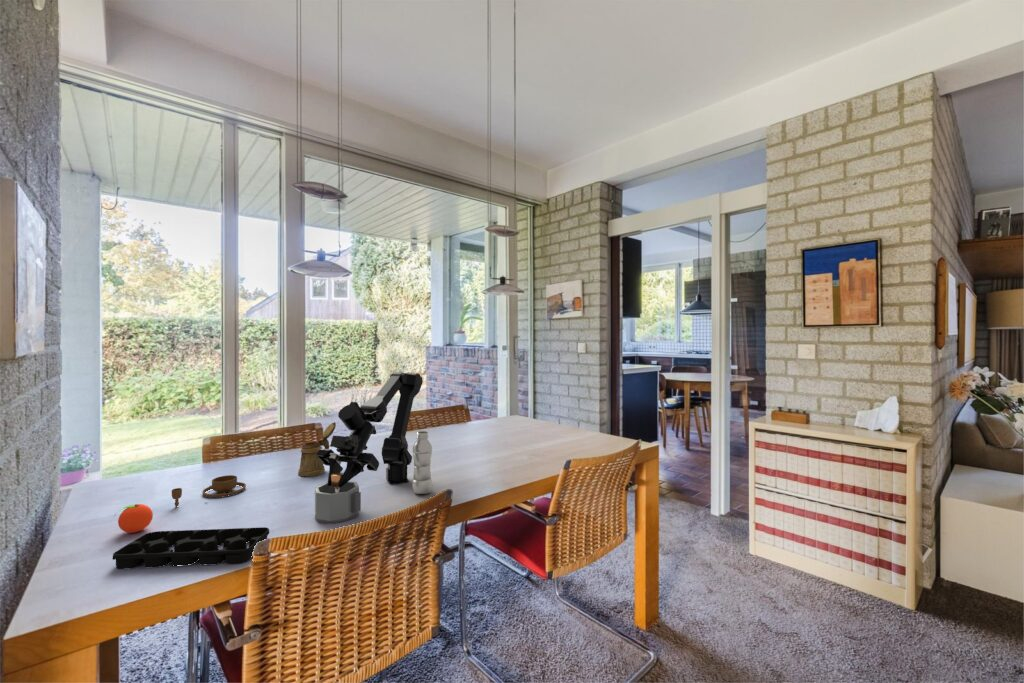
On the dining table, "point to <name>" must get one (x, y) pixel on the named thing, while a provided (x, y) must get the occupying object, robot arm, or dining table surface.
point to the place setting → (215, 487)
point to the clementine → (135, 518)
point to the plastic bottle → (422, 464)
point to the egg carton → (190, 547)
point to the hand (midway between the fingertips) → (333, 486)
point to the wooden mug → (314, 454)
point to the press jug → (337, 503)
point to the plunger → (336, 481)
